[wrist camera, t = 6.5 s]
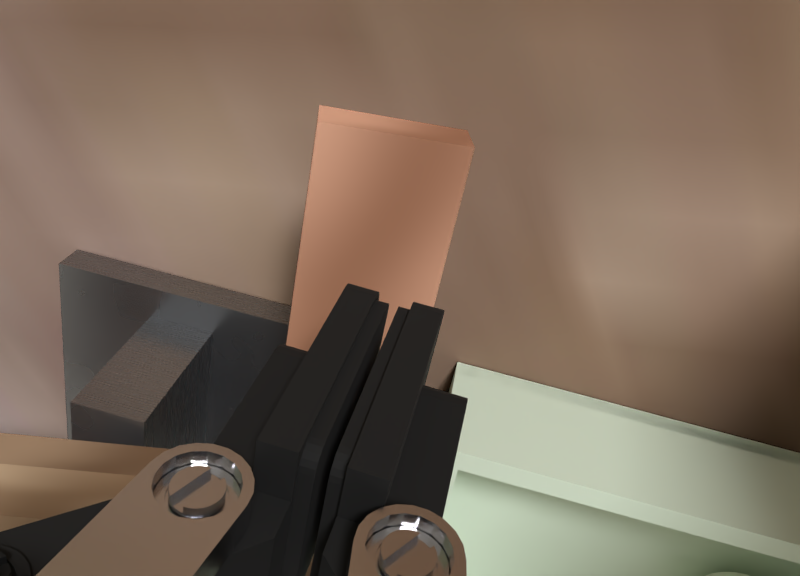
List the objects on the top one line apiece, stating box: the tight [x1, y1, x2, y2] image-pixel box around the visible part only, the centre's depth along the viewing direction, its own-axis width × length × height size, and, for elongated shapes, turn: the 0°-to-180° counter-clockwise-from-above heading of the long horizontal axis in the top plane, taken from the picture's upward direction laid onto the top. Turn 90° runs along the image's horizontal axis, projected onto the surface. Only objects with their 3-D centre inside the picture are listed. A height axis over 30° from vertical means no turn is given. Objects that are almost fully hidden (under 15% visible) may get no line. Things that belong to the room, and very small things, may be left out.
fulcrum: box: [59, 250, 291, 449], centre depth 23 cm, size 8×12×5 cm, turn 168°
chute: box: [0, 105, 475, 576], centre depth 16 cm, size 16×18×4 cm
